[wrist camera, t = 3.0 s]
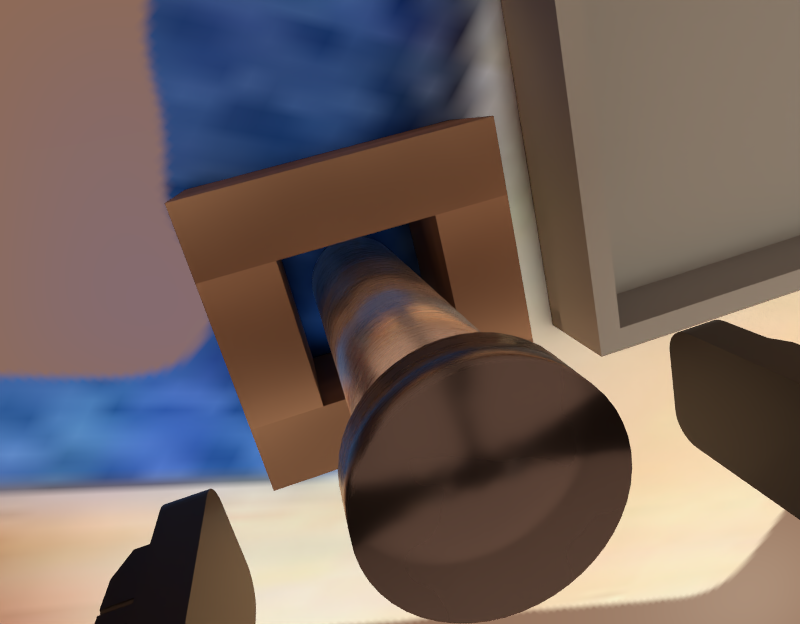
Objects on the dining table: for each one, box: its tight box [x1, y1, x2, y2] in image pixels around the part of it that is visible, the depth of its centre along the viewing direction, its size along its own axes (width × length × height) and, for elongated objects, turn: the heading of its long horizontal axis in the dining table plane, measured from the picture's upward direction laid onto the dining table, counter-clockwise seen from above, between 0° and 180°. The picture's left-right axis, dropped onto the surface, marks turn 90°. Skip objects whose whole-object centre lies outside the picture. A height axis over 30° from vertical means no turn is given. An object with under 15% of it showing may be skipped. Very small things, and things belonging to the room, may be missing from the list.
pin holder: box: [165, 116, 533, 491], centre depth 18 cm, size 9×9×4 cm
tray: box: [501, 0, 800, 357], centre depth 19 cm, size 16×16×4 cm
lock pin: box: [312, 236, 632, 623], centre depth 14 cm, size 4×4×13 cm
